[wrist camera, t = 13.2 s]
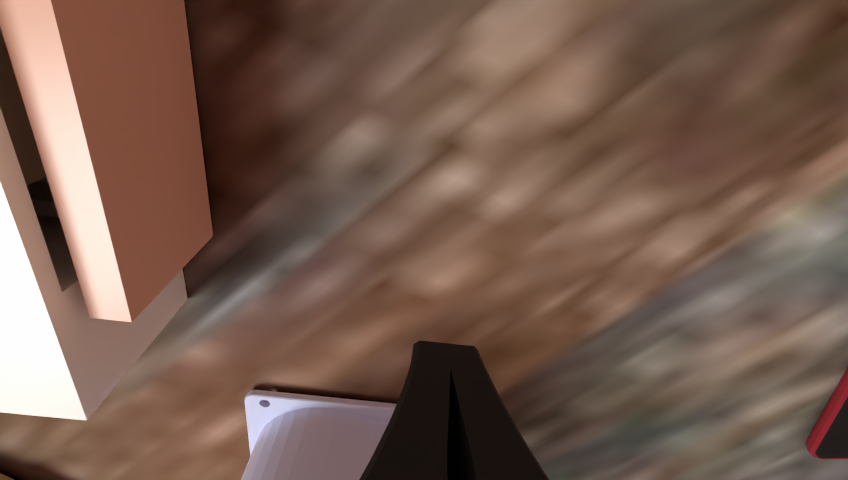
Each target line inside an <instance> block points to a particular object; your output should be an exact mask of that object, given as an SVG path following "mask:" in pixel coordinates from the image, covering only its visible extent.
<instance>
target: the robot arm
mask: <svg viewBox="0 0 848 480" xmlns="http://www.w3.org/2000/svg"><path fill="white" fill-rule="evenodd" d="M266 400H267V401H266ZM245 409H246V418H247V428H248V437H249V447H250V459H249V461H248V464H247V466H246V469H245V471H244V474H243V476H242V479H241V480H549V479H548V477H547V476H546V474H545V473H544V471H543V470H542V468H541V466H540V465H539V463H538V462H537V460H536V459H535V457H534V456H533V454H532V452H531V451H530V449H529V447H528V446H527V444H526V442H525V441H524V439H523V438H522V436H521V434H520V432H519V431H518V429H517V427H516V425H515V424H514V422H513V420H512V418H511V416H510V415H509V413H508V411H507V409H506V408H505V406H504V404H503V402H502V400H501V398H500V396H499V394H498V392H497V390H496V388H495V386H494V384H493V382H492V380H491V378H490V376H489V374H488V372H487V370H486V368H485V366H484V363H483V361H482V359H481V357H480V354H479V352H478V350H477V349H476V348H475V347H474V346H466V345H457V344H447V343H437V342H428V341H418V342H416V343H415V344H414V346H413V353H412V360H411V365H410V369H409V372H408V375H407V378H406V381H405V384H404V387H403V390H402V392H401V395H400V397H399V400H398V402H397V404H394V403H384V402H374V401H364V400H354V399H344V398H334V397H324V396H314V395H304V394H294V393H284V392H274V391H264V390H251V391H249V392H248V393H247V395H246V397H245Z"/></svg>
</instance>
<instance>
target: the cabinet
mask: <svg viewBox="0 0 848 480" xmlns="http://www.w3.org/2000/svg"><path fill="white" fill-rule="evenodd" d="M187 299H188V298H187V292H186V286H185V280H184V275H183V269H182V270H181V271H180V272H179V273H178V274H177V275H176V276H175V277H174V278H173V279H172V280H171V281H170V282H169V283H168V284H167V286H166V287H165V288H164V289H163V290H162V291H161V292H160V293H159V294H158V295H157V296H156V297H155V298H154V299H153V300H152V301H151V303H150V304H149V305H148V306H147V307H146V308H145V309H144V310H143V311H142V312H141V313H140V314H139V315H138V316H137V317H136V318H135V319H134V321H133V322H124V321H115V320H105V319H96V318H90V316H89V313H88V310H87V307H86V303H85V300H84V297H83V294H82V290H81V287H80V284H79V281H78V277H77V274H76V271H75V268H74V264H73V261H72V258H71V255H70V251H69V248H68V245H67V242H66V238H65V235H64V232H63V229H62V225H61V222H60V219H59V218H55V217H46V216H37V215H36V213H35V210H34V207H33V204H32V201H31V198H30V195H29V192H28V189H27V186H26V183H25V180H24V177H23V174H22V171H21V168H20V165H19V162H18V159H17V156H16V153H15V150H14V147H13V144H12V141H11V138H10V135H9V132H8V129H7V126H6V123H5V120H4V117H3V114H2V111H1V108H0V412H3V413H14V414H24V415H35V416H45V417H56V418H66V419H77V420H88V419H89V418H90V416H91V415H92V414H93V413H94V412H95V410H96V409H97V408H98V407H99V405H100V404H101V403H102V402H103V401H104V399H105V398H106V397H107V396H108V395H109V393H110V392H111V391H112V390H113V389H114V387H115V386H116V385H117V384H118V383H119V381H120V380H121V379H122V378H123V376H124V375H125V374H126V373H127V372H128V370H129V369H130V368H131V367H132V366H133V364H134V363H135V362H136V361H137V360H138V358H139V357H140V356H141V355H142V354H143V352H144V351H145V350H146V349H147V347H148V346H149V345H150V344H151V343H152V341H153V340H154V339H155V338H156V337H157V335H158V334H159V333H160V332H161V331H162V329H163V328H164V327H165V326H166V325H167V323H168V322H169V321H170V320H171V319H172V317H173V316H174V315H175V314H176V312H177V311H178V310H179V309H180V308H181V306H182V305H183V304H184V303H185V302H186V300H187Z"/></svg>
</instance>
